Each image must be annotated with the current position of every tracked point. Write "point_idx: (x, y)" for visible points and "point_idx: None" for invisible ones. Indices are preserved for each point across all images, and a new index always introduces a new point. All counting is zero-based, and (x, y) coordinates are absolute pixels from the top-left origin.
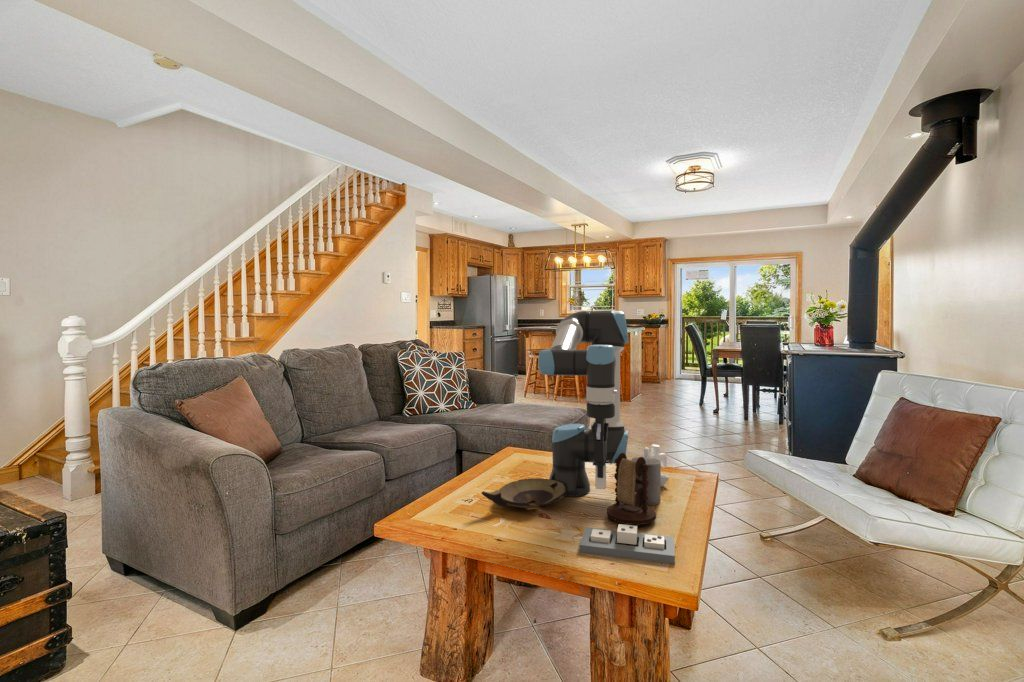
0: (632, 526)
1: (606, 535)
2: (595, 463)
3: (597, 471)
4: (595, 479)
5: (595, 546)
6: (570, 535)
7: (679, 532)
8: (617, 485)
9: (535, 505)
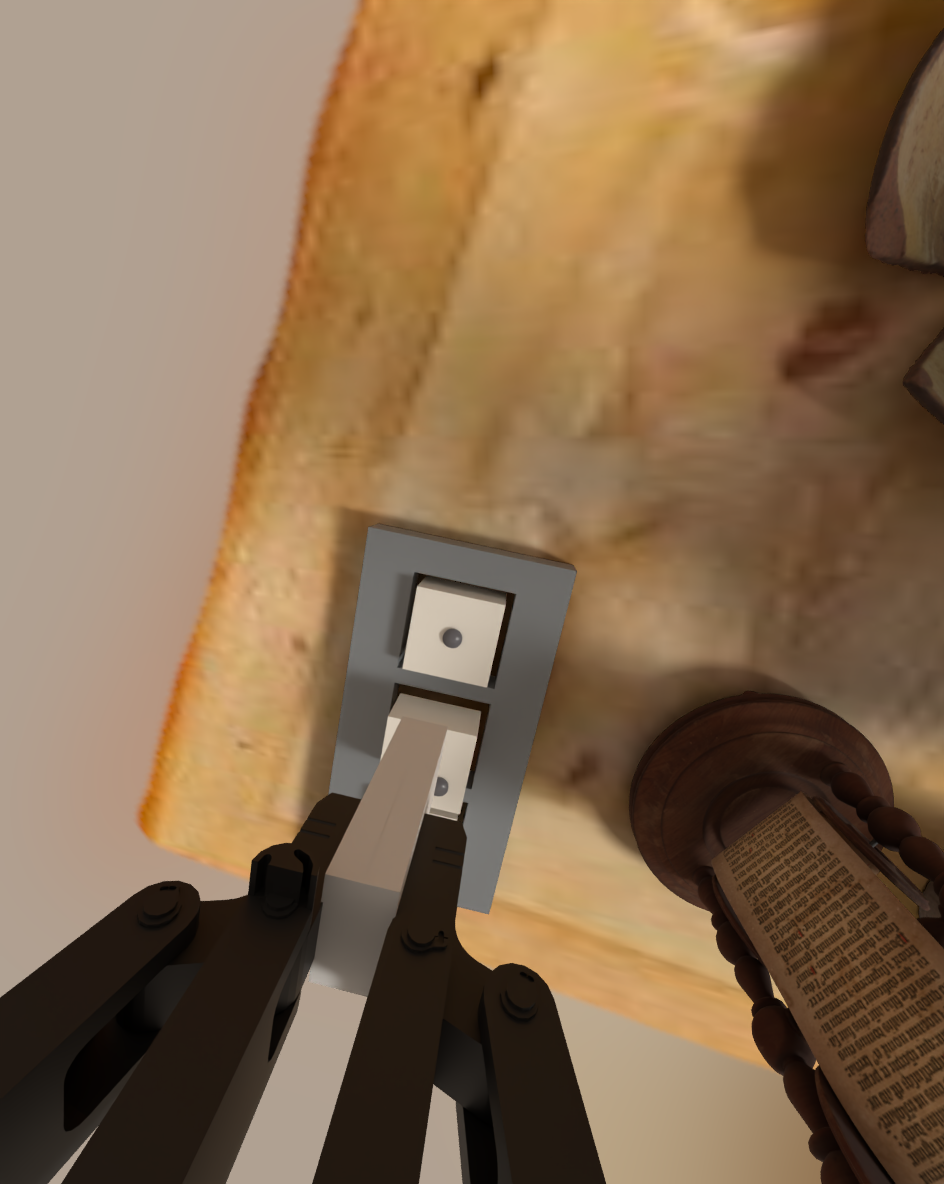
0: (444, 793)
1: (431, 659)
2: (127, 908)
3: (296, 838)
4: (381, 759)
5: (360, 597)
6: (552, 490)
7: (593, 936)
8: (856, 855)
9: (868, 253)
